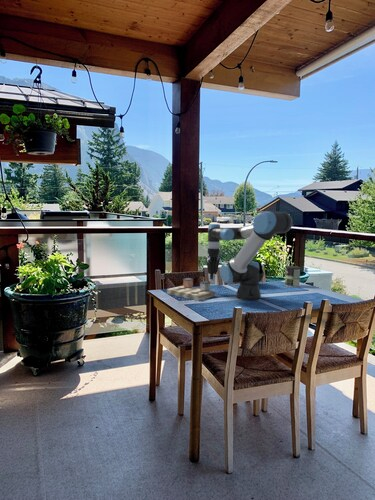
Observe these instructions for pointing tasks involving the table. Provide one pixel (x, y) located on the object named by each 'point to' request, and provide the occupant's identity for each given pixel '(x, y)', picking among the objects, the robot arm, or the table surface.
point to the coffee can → (292, 276)
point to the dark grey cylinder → (260, 271)
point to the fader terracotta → (188, 282)
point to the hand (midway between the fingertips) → (212, 283)
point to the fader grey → (205, 285)
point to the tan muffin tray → (191, 293)
